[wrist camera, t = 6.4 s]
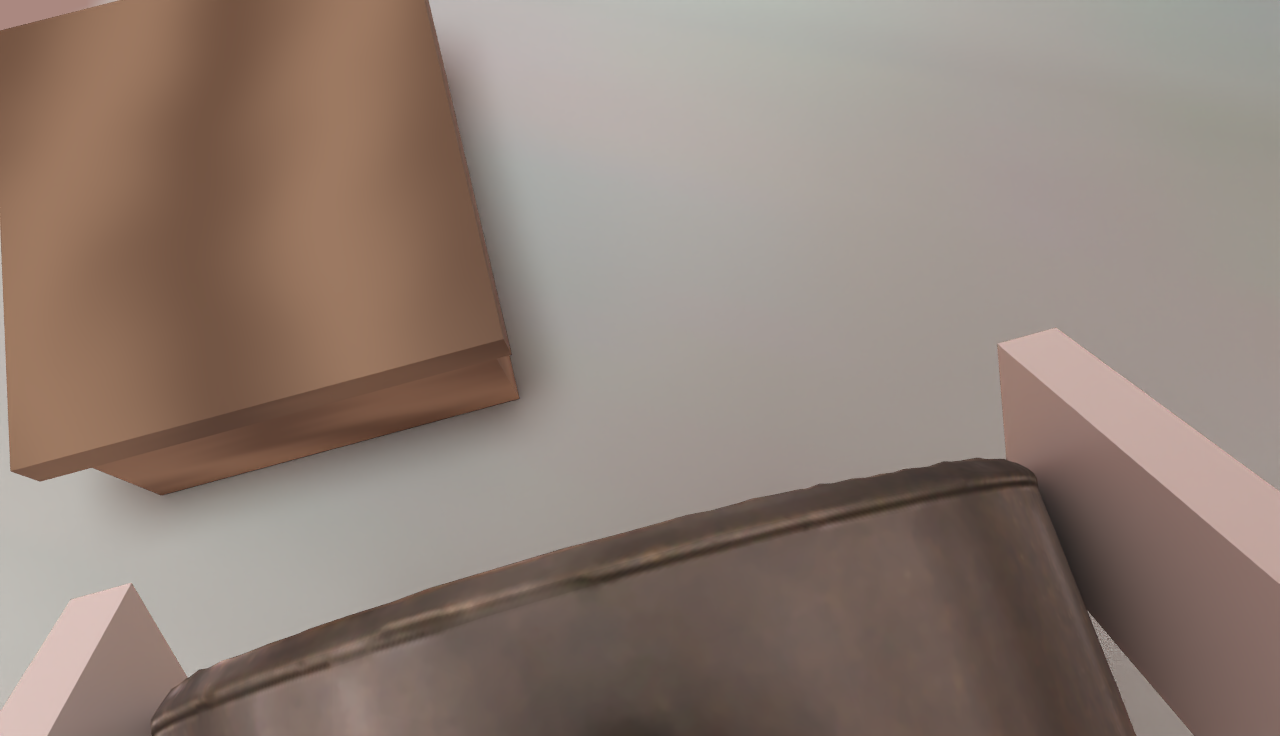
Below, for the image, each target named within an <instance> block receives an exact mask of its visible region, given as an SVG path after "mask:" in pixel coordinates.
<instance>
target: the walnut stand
mask: <svg viewBox="0 0 1280 736" xmlns="http://www.w3.org/2000/svg"><path fill="white" fill-rule="evenodd" d="M0 230H1V254H2V278H3V302H4V326H5V350H6V374H7V398H8V422H9V446H10V470H11V472H14V473H17V474H20V475H23V476H26V477H29V478H32V479H34V480H37V481H44V480H47V479H51V478H55V477H59V476H62V475H66V474H70V473H73V472H77V471H81V470H85V469H88V468H94V469H97V470H99V471H102V472H104V473H107V474H109V475H112V476H114V477H117V478H119V479H122V480H124V481H127V482H129V483H132V484H134V485H137V486H139V487H142V488H144V489H147V490H149V491H152V492H154V493H157V494H159V495H164V494H168V493H172V492H175V491H179V490H183V489H186V488H190V487H194V486H198V485H201V484H205V483H209V482H212V481H216V480H220V479H223V478H227V477H231V476H235V475H238V474H242V473H246V472H249V471H253V470H257V469H260V468H264V467H268V466H272V465H275V464H279V463H283V462H286V461H290V460H294V459H297V458H301V457H305V456H308V455H312V454H316V453H320V452H323V451H327V450H331V449H334V448H338V447H342V446H345V445H349V444H353V443H357V442H360V441H364V440H368V439H371V438H375V437H379V436H382V435H386V434H390V433H394V432H397V431H401V430H405V429H408V428H412V427H416V426H419V425H423V424H427V423H431V422H434V421H438V420H442V419H445V418H449V417H453V416H456V415H460V414H464V413H468V412H471V411H475V410H479V409H482V408H486V407H490V406H493V405H497V404H501V403H505V402H508V401H512V400H516V399H519V394H518V390H517V386H516V381H515V377H514V373H513V369H512V364H511V360H510V356H509V355H512V354H511V349H510V345H509V341H508V337H507V332H506V328H505V324H504V320H503V315H502V311H501V307H500V303H499V298H498V294H497V290H496V286H495V281H494V277H493V273H492V269H491V264H490V260H489V256H488V252H487V247H486V243H485V239H484V235H483V230H482V226H481V222H480V218H479V213H478V209H477V205H476V201H475V196H474V192H473V188H472V184H471V179H470V175H469V171H468V167H467V162H466V158H465V154H464V150H463V145H462V141H461V137H460V133H459V128H458V124H457V120H456V116H455V111H454V107H453V103H452V99H451V94H450V90H449V86H448V82H447V77H446V73H445V69H444V65H443V60H442V56H441V52H440V48H439V43H438V39H437V35H436V30H435V26H434V22H433V18H432V13H431V9H430V5H429V1H428V0H119V1H115V2H111V3H107V4H103V5H99V6H95V7H91V8H87V9H84V10H80V11H76V12H72V13H68V14H64V15H60V16H56V17H52V18H48V19H44V20H40V21H36V22H32V23H28V24H24V25H21V26H16V27H13V28H9V29H5V30H1V31H0Z"/></svg>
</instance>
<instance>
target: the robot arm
mask: <svg viewBox="0 0 1280 736" xmlns="http://www.w3.org/2000/svg"><path fill="white" fill-rule="evenodd" d="M997 347H998V360H999V372H1000V385H1001V397H1002V410H1003V422H1004V434H1005V447H1006V459H1007V460H1008V461H1011V462H1015V463H1018V464H1020V465H1022V466H1024V467H1026V468H1028V469H1029V470H1031V471H1032V472H1033V473H1034V474H1035V476H1036V478H1037V482H1038V487H1039V492H1040V495H1041V497H1042V500H1043V502H1044V505H1045V507H1046V509H1047V512H1048V514H1049V517H1050V519H1051V521H1052V524H1053V526H1054V529H1055V531H1056V534H1057V536H1058V539H1059V541H1060V544H1061V546H1062V549H1063V551H1064V554H1065V556H1066V559H1067V561H1068V564H1069V566H1070V569H1071V571H1072V574H1073V576H1074V579H1075V581H1076V584H1077V586H1078V589H1079V591H1080V594H1081V596H1082V599H1083V601H1084V604H1085V606H1086V609H1087V610H1088V611H1089V613H1090V614H1091V615H1092V616H1093V617H1094V618H1095V620H1096V621H1097V622H1098V623H1099V624H1100V625H1101V627H1102V628H1103V629H1104V630H1105V631H1106V632H1107V634H1108V635H1109V636H1110V637H1111V638H1112V640H1113V641H1114V642H1115V643H1116V644H1117V645H1118V647H1119V648H1120V649H1121V650H1122V651H1123V652H1124V654H1125V655H1126V656H1127V657H1128V658H1129V659H1130V661H1131V662H1132V663H1133V664H1134V665H1135V667H1136V668H1137V669H1138V670H1139V671H1140V672H1141V674H1142V675H1143V676H1144V677H1145V678H1146V679H1147V681H1148V682H1149V683H1150V684H1151V685H1152V686H1153V688H1154V689H1155V690H1156V691H1157V692H1158V693H1159V695H1160V696H1161V697H1162V698H1163V699H1164V701H1165V702H1166V703H1167V704H1168V705H1169V706H1170V708H1171V709H1172V710H1173V711H1174V712H1175V713H1176V715H1177V716H1178V717H1179V718H1180V719H1181V720H1182V722H1183V723H1184V724H1185V725H1186V726H1187V728H1188V729H1189V730H1190V731H1191V732H1192V733H1193V735H1194V736H1280V491H1278V490H1277V489H1276V488H1274V487H1273V486H1272V485H1270V484H1269V483H1267V482H1266V481H1265V480H1263V479H1262V478H1261V477H1259V476H1258V475H1256V474H1255V473H1254V472H1252V471H1251V470H1250V469H1248V468H1247V467H1246V466H1244V465H1243V464H1241V463H1240V462H1239V461H1237V460H1236V459H1235V458H1233V457H1232V456H1231V455H1229V454H1228V453H1226V452H1225V451H1224V450H1222V449H1221V448H1220V447H1218V446H1217V445H1216V444H1214V443H1213V442H1211V441H1210V440H1209V439H1207V438H1206V437H1205V436H1203V435H1202V434H1201V433H1199V432H1198V431H1196V430H1195V429H1194V428H1192V427H1191V426H1190V425H1188V424H1187V423H1186V422H1184V421H1183V420H1181V419H1180V418H1179V417H1177V416H1176V415H1175V414H1173V413H1172V412H1171V411H1169V410H1168V409H1166V408H1165V407H1164V406H1162V405H1161V404H1160V403H1158V402H1157V401H1155V400H1154V399H1153V398H1151V397H1150V396H1149V395H1147V394H1146V393H1145V392H1143V391H1142V390H1140V389H1139V388H1138V387H1136V386H1135V385H1134V384H1132V383H1131V382H1130V381H1128V380H1127V379H1125V378H1124V377H1123V376H1121V375H1120V374H1119V373H1117V372H1116V371H1115V370H1113V369H1112V368H1110V367H1109V366H1108V365H1106V364H1105V363H1104V362H1102V361H1101V360H1100V359H1098V358H1097V357H1095V356H1094V355H1093V354H1091V353H1090V352H1089V351H1087V350H1086V349H1085V348H1083V347H1082V346H1080V345H1079V344H1078V343H1076V342H1075V341H1074V340H1072V339H1071V338H1070V337H1068V336H1067V335H1065V334H1064V333H1063V332H1061V331H1060V330H1059V329H1057V328H1052V329H1049V330H1045V331H1042V332H1038V333H1034V334H1031V335H1027V336H1023V337H1020V338H1016V339H1013V340H1009V341H1005V342H1002V343H998V344H997ZM186 678H188V677H187V676H186V674H185V672H184V671H183V669H182V667H181V666H180V664H179V662H178V661H177V659H176V657H175V655H174V654H173V652H172V650H171V649H170V647H169V645H168V644H167V642H166V640H165V639H164V637H163V635H162V633H161V632H160V630H159V628H158V627H157V625H156V623H155V622H154V620H153V618H152V616H151V615H150V613H149V611H148V610H147V608H146V606H145V605H144V603H143V601H142V600H141V598H140V596H139V594H138V593H137V591H136V589H135V588H134V586H133V584H132V583H129V584H125V585H122V586H118V587H114V588H111V589H107V590H104V591H100V592H96V593H93V594H89V595H85V596H82V597H78V598H75V599H71V600H70V601H69V603H68V605H67V606H66V608H65V609H64V611H63V613H62V614H61V616H60V617H59V619H58V621H57V622H56V624H55V625H54V627H53V629H52V630H51V632H50V633H49V635H48V636H47V638H46V640H45V641H44V643H43V644H42V646H41V648H40V649H39V651H38V652H37V654H36V656H35V657H34V659H33V660H32V662H31V664H30V665H29V667H28V668H27V670H26V672H25V673H24V675H23V676H22V678H21V680H20V681H19V683H18V684H17V686H16V688H15V689H14V691H13V692H12V694H11V695H10V697H9V699H8V700H7V702H6V703H5V705H4V707H3V708H2V710H1V711H0V736H152V735H151V725H150V724H151V718H152V717H153V715H154V714H155V712H156V710H157V709H158V707H159V706H160V704H161V703H162V701H163V700H164V699H165V697H166V696H167V694H168V693H169V692H170V690H171V689H172V688H174V687H175V686H177V685H179V684H180V683H181V682H182V681H184V680H185V679H186Z"/></svg>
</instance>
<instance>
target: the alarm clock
mask: <svg viewBox="0 0 1280 736" xmlns="http://www.w3.org/2000/svg"><path fill="white" fill-rule="evenodd" d="M150 725H151V735H152V736H1136V734H1135V732H1134V729H1133V726H1132V724H1131V721H1130V719H1129V716H1128V714H1127V711H1126V708H1125V706H1124V703H1123V700H1122V698H1121V695H1120V692H1119V690H1118V687H1117V685H1116V682H1115V680H1114V678H1113V675H1112V673H1111V670H1110V668H1109V665H1108V663H1107V660H1106V658H1105V655H1104V652H1103V650H1102V647H1101V645H1100V642H1099V640H1098V637H1097V635H1096V632H1095V629H1094V627H1093V624H1092V622H1091V619H1090V617H1089V614H1088V611H1087V609H1086V606H1085V604H1084V601H1083V599H1082V596H1081V594H1080V591H1079V589H1078V586H1077V584H1076V581H1075V579H1074V576H1073V574H1072V571H1071V569H1070V566H1069V564H1068V561H1067V559H1066V556H1065V554H1064V551H1063V549H1062V546H1061V544H1060V541H1059V539H1058V536H1057V534H1056V531H1055V529H1054V526H1053V524H1052V521H1051V519H1050V517H1049V514H1048V512H1047V509H1046V507H1045V505H1044V502H1043V500H1042V497H1041V495H1040V492H1039V487H1038V482H1037V478H1036V476H1035V474H1034V473H1033V472H1032V471H1031V470H1029V469H1028V468H1026V467H1024V466H1022V465H1020V464H1018V463H1015V462H1011V461H1008V460H1005V459H982V458H973V459H967V460H962V461H954V462H945V461H944V462H941V463H938V464H935V465H932V466H928V467H922V468H911V469H903V470H900V471H897V472H894V473H886V474H879V475H875V476H871V477H867V478H855V479H849V480H845V481H841V482H837V483H832V484H818V485H815V486H812V487H810V488H806V489H799V490H794V491H790V492H785V493H780V494H775V495H770V496H765V497H760V498H753V499H750V500H747V501H744V502H741V503H737V504H734V505H730V506H726V507H722V508H718V509H715V510H711V511H706V512H701V513H695V514H690V515H685V516H682V517H678V518H675V519H671V520H668V521H664V522H661V523H657V524H654V525H650V526H647V527H643V528H640V529H636V530H633V531H629V532H625V533H621V534H617V535H614V536H610V537H606V538H602V539H598V540H594V541H590V542H587V543H583V544H579V545H575V546H571V547H567V548H564V549H560V550H557V551H553V552H550V553H547V554H543V555H540V556H537V557H533V558H530V559H527V560H523V561H520V562H517V563H513V564H510V565H507V566H503V567H500V568H497V569H493V570H490V571H486V572H483V573H480V574H476V575H473V576H469V577H466V578H463V579H459V580H456V581H453V582H449V583H446V584H442V585H439V586H436V587H432V588H429V589H426V590H423V591H420V592H418V593H415V594H412V595H410V596H407V597H404V598H402V599H399V600H396V601H394V602H391V603H388V604H385V605H381V606H378V607H375V608H372V609H369V610H365V611H362V612H359V613H356V614H353V615H349V616H346V617H343V618H340V619H337V620H334V621H332V622H329V623H326V624H323V625H320V626H317V627H314V628H311V629H308V630H306V631H303V632H301V633H299V634H296V635H294V636H291V637H288V638H285V639H282V640H279V641H276V642H273V643H270V644H267V645H265V646H262V647H260V648H257V649H255V650H252V651H250V652H247V653H245V654H242V655H239V656H236V657H233V658H230V659H226V660H223V661H221V662H219V663H217V664H215V665H214V666H212V667H210V668H207V669H201V670H198V671H197V672H195V673H194V674H193V675H192V676H191V677H189V678H186V679H185V680H184V681H182V682H181V683H180V684H179V685H177V686H175V687H174V688H172V689H171V690H170V692H169V693H168V694H167V696H166V697H165V699H164V700H163V701H162V703H161V704H160V706H159V707H158V709H157V710H156V712H155V714H154V715H153V717H152V718H151V724H150Z"/></svg>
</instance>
